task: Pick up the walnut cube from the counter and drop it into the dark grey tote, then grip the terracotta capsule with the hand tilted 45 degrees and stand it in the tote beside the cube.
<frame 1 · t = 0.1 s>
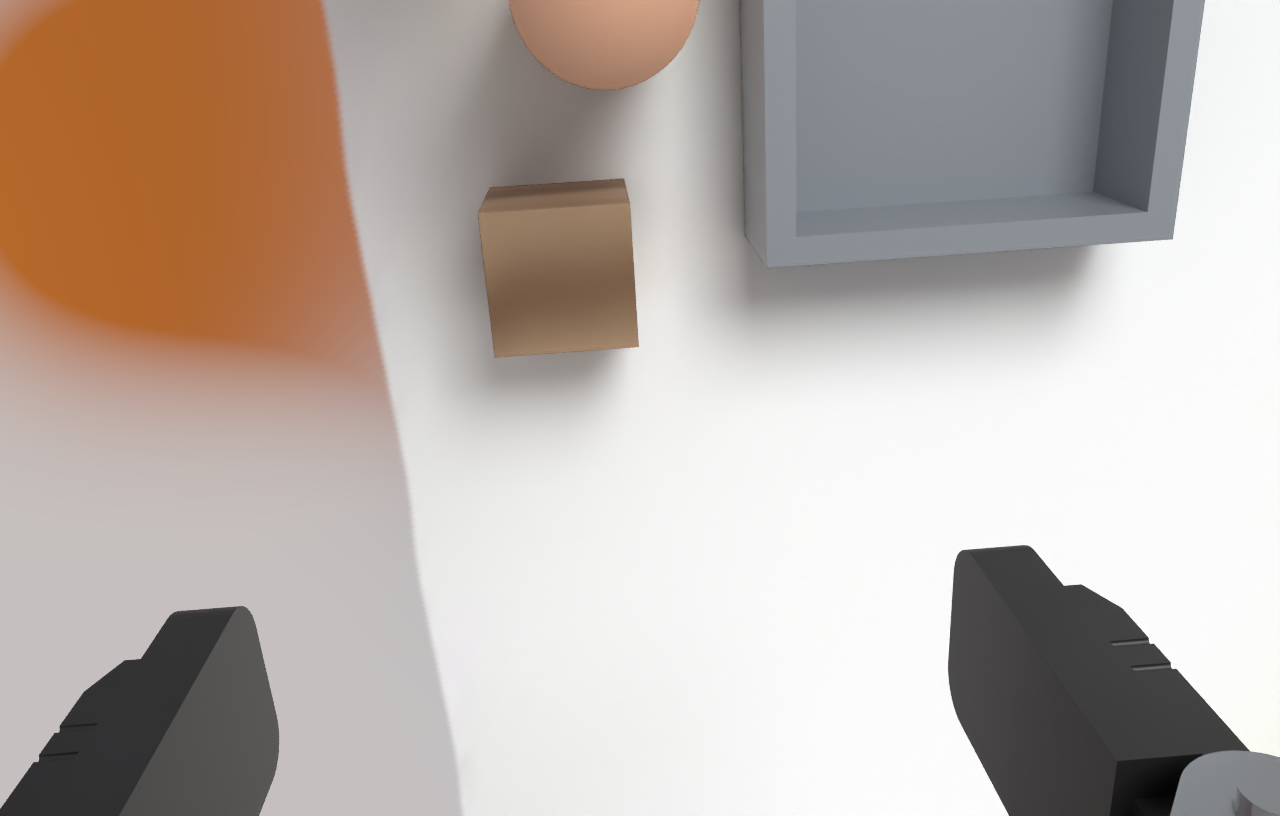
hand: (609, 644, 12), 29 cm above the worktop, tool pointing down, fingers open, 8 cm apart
walnut cube: (562, 248, 40), on the worktop
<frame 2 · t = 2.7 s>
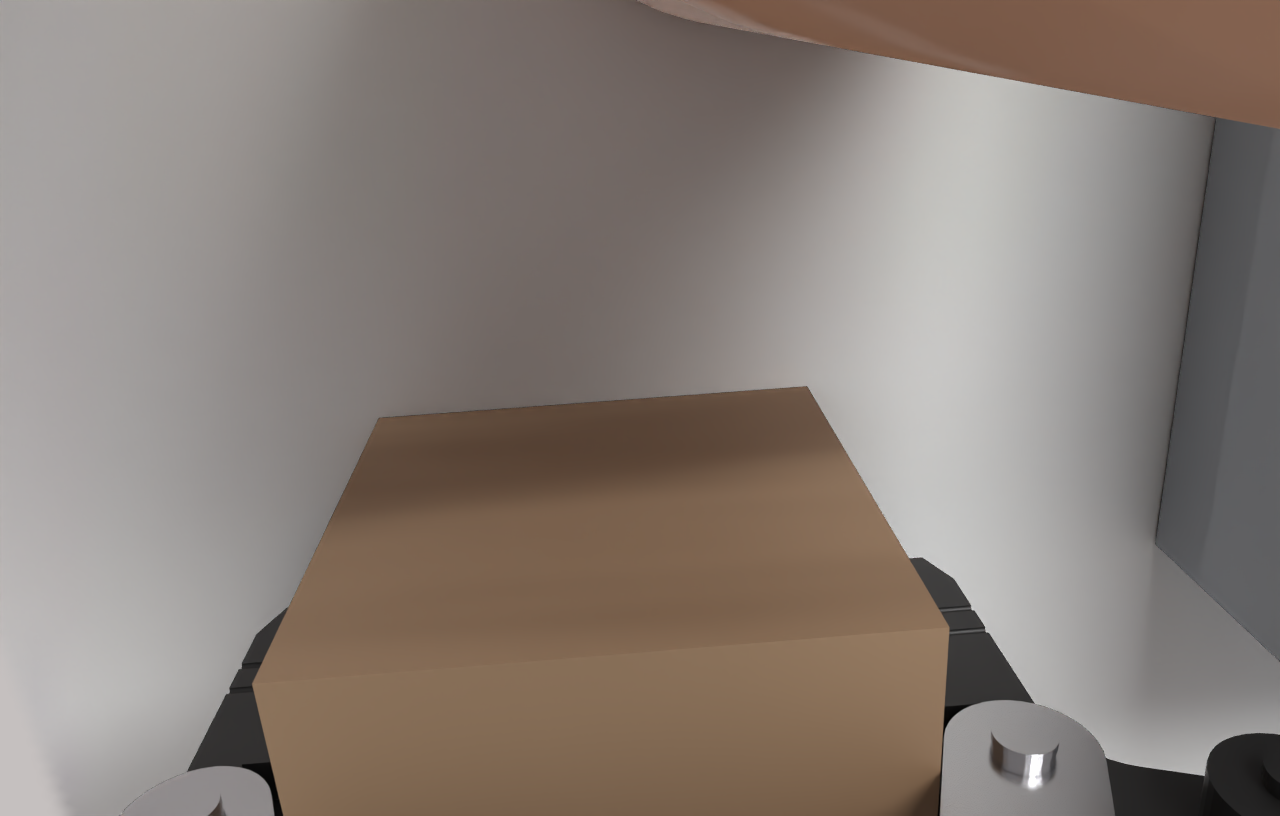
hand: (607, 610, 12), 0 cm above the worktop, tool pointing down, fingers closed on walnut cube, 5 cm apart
walnut cube: (609, 587, 13), on the worktop, touching gripper
when the fingers open (3 cm above the worktop, at t = 8.4 s): walnut cube drops 1 cm, resting on grey tote.
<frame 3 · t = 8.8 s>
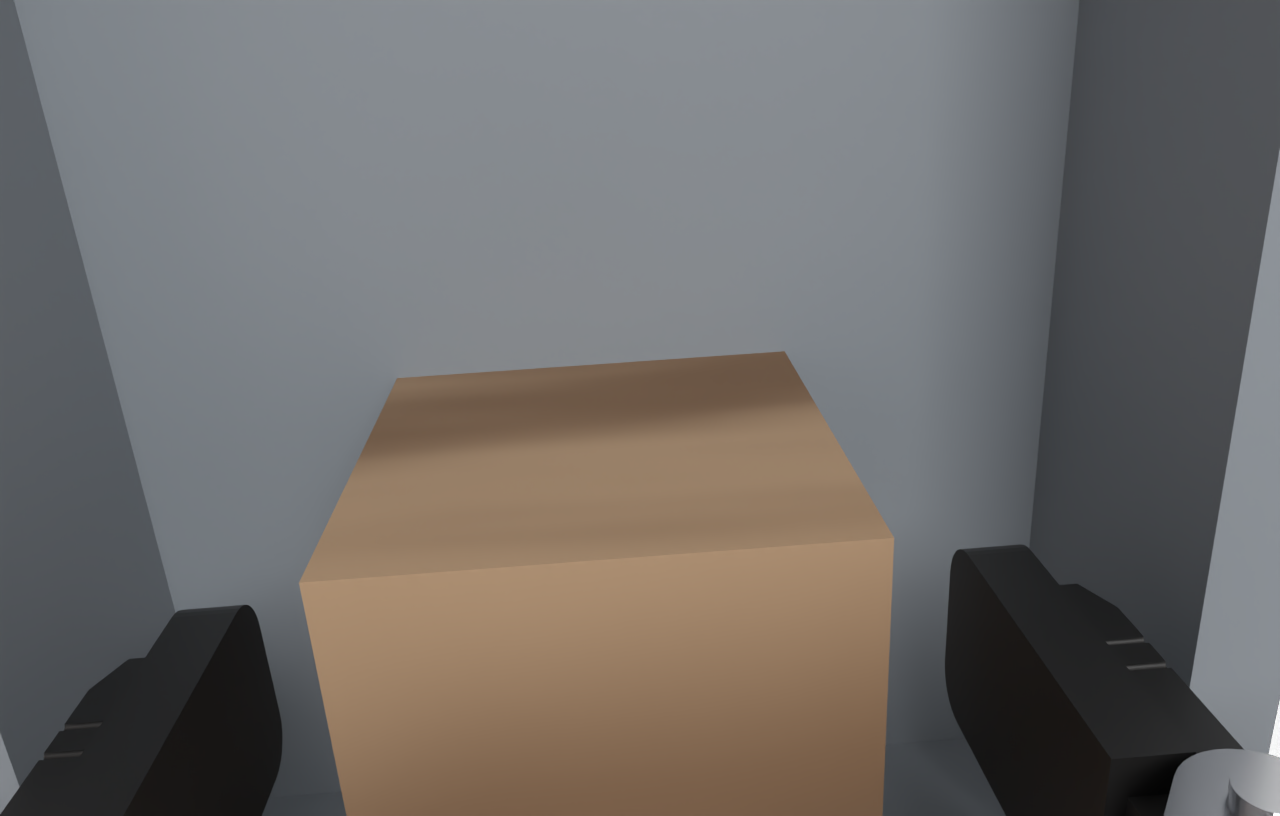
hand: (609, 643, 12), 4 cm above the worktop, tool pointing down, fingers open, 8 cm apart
walnut cube: (604, 535, 14), point 1 cm above the worktop, touching grey tote
grey tote: (580, 232, 14), on the worktop
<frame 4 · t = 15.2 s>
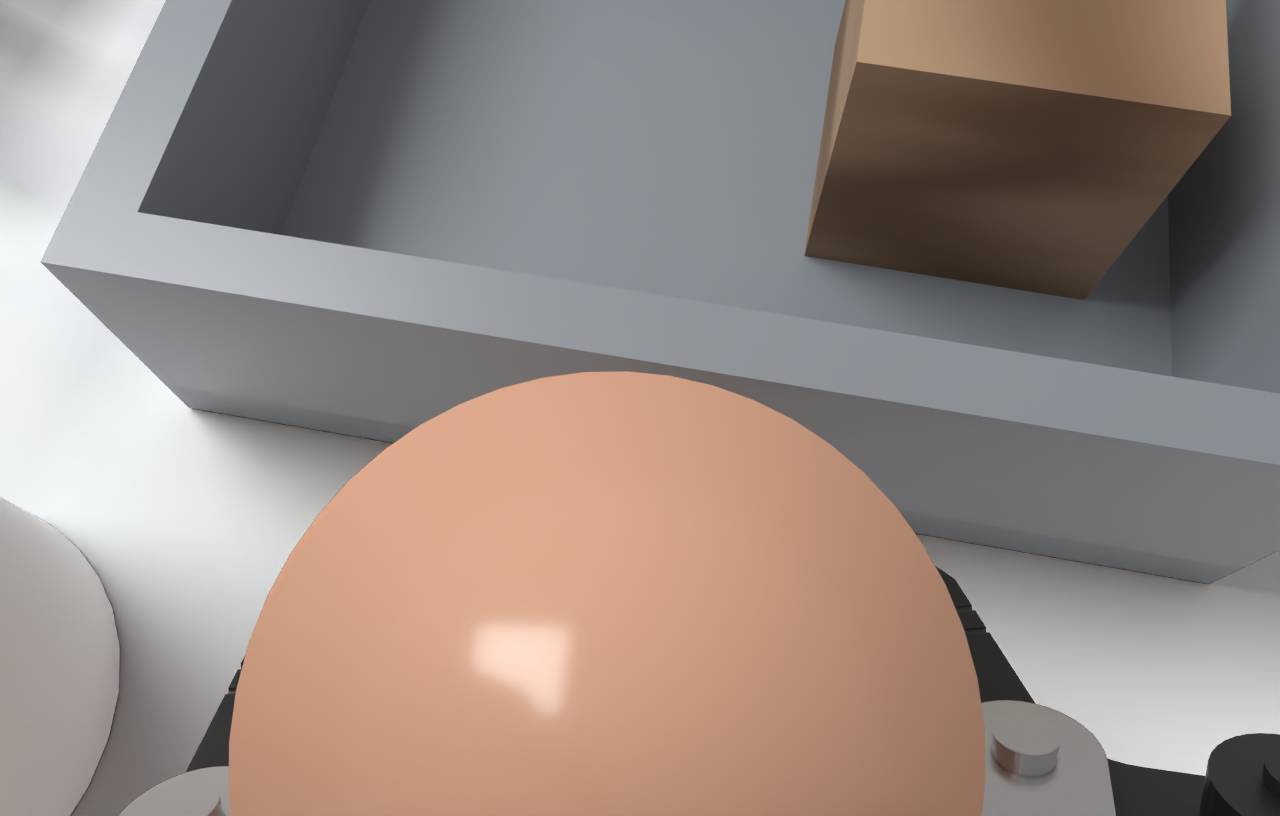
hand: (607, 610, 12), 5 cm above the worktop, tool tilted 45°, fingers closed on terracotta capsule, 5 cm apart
terracotta capsule: (626, 793, 16), on the worktop, touching gripper
walnut cube: (952, 164, 20), point 1 cm above the worktop, touching grey tote
grey tote: (737, 166, 21), on the worktop
when the fingers open (7 cm above the worktop, at t = 20.3 s): terracotta capsule drops 1 cm, resting on grey tote.
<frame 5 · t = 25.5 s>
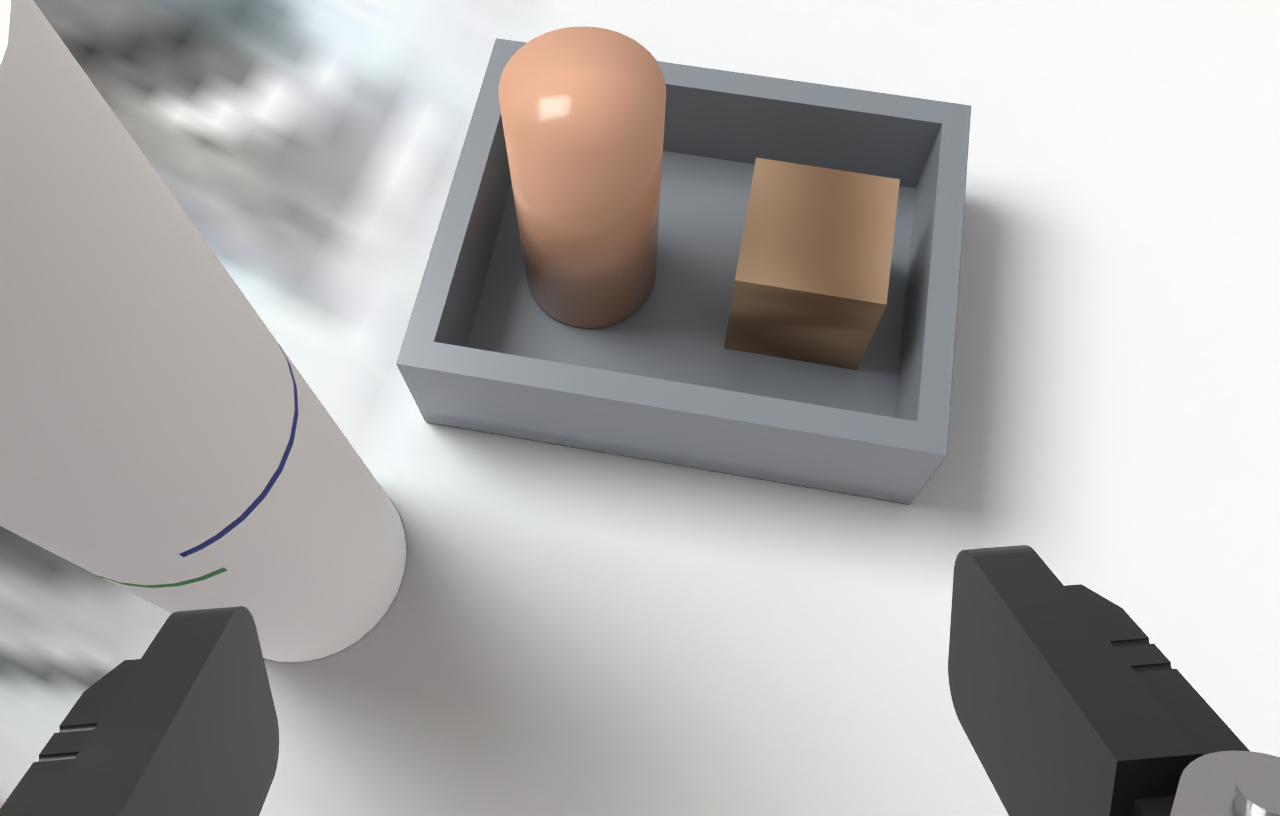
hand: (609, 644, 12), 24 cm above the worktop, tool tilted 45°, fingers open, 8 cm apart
terracotta capsule: (591, 271, 40), point 1 cm above the worktop, touching grey tote
cylindrical container: (306, 561, 37), on the worktop
walnut cube: (798, 301, 39), point 1 cm above the worktop, touching grey tote
grey tote: (693, 298, 41), on the worktop
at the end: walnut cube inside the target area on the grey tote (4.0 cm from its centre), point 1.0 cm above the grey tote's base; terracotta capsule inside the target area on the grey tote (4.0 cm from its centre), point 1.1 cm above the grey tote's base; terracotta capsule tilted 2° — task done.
